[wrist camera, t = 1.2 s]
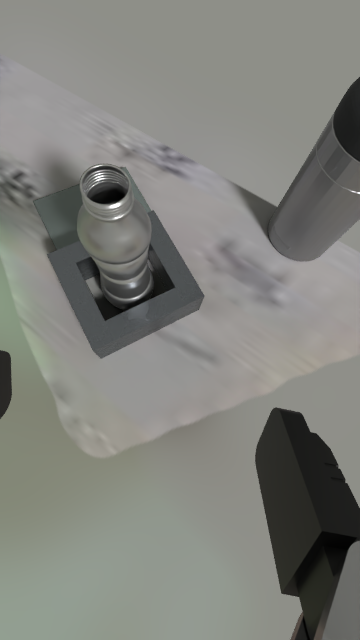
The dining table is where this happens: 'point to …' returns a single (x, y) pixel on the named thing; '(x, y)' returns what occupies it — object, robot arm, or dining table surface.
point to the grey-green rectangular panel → (69, 212)
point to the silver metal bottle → (116, 235)
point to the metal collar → (141, 319)
